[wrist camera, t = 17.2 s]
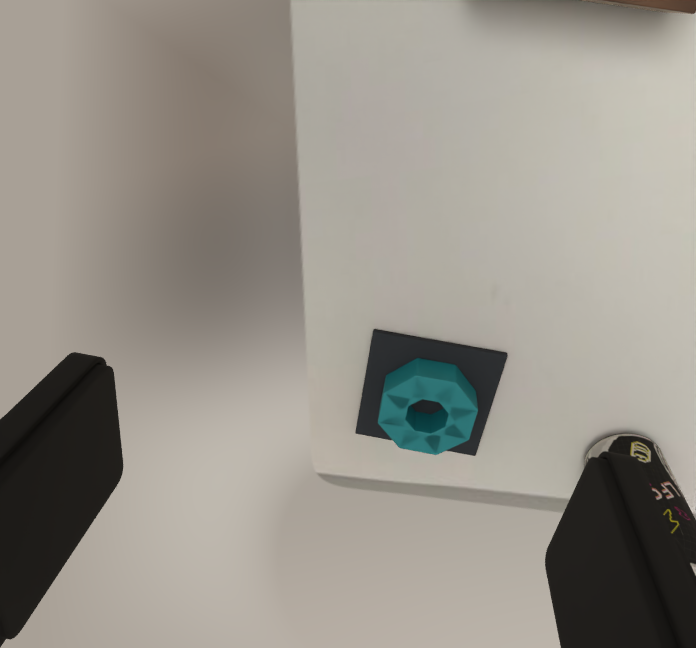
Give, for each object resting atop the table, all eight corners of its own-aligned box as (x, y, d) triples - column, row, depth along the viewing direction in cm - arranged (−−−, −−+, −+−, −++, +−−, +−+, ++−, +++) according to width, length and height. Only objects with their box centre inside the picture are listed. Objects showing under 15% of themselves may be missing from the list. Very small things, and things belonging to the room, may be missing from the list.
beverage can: (666, 428, 43) (738, 562, 33) (652, 483, 46) (714, 623, 36) (586, 426, 44) (633, 556, 34) (577, 480, 47) (618, 616, 36)
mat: (356, 430, 47) (355, 433, 47) (373, 328, 42) (373, 331, 42) (474, 452, 47) (475, 456, 46) (507, 352, 42) (507, 355, 41)
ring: (376, 423, 46) (373, 443, 44) (390, 352, 43) (388, 370, 41) (461, 439, 46) (462, 460, 44) (482, 369, 42) (485, 388, 40)
